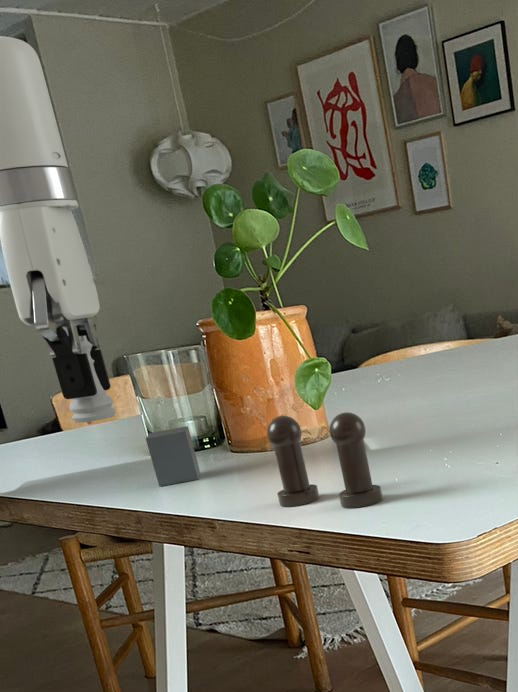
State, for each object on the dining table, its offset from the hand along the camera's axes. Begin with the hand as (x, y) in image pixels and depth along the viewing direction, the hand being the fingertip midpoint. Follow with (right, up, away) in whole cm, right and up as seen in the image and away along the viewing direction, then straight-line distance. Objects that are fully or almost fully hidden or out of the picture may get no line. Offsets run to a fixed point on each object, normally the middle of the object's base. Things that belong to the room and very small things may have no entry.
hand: (87, 392), depth 94 cm
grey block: (+8, -8, +4) cm, 12 cm away
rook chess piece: (0, -3, +1) cm, 3 cm away
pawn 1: (+24, -13, -15) cm, 31 cm away
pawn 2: (+30, -14, -19) cm, 38 cm away
